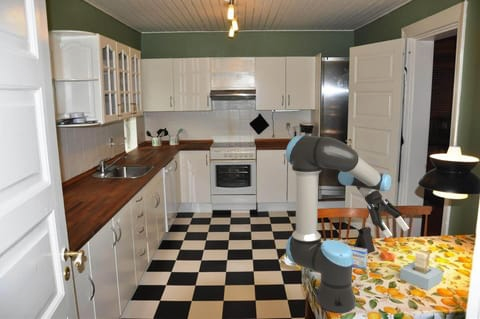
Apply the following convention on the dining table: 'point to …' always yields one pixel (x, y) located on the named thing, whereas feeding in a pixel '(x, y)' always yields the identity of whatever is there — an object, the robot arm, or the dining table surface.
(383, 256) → the rock
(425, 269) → the peg
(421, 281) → the socket block
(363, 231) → the black jug
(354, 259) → the medicine box
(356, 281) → the dining table surface
